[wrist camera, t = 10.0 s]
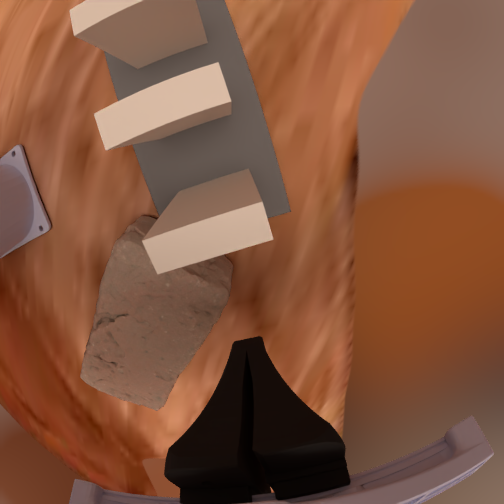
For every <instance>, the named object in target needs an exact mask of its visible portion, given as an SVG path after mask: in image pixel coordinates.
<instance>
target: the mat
mask: <svg viewBox="0 0 504 504" xmlns="http://www.w3.org/2000/svg"><path fill="white" fill-rule="evenodd" d="M196 3H197V6H198V10H199V13H200V17H201V20H202V24H203V27H204V31H205V34H206V38H207V41H208V43H206V44H203V45H199V46H196V47H193V48H190V49H187V50H185V51H182V52H179V53H176V54H173V55H171V56H168V57H166V58H163V59H161V60H158V61H156V62H153V63H151V64H148V65H146V66H144V67H141V68H139V69H137V68H135V67H133V66H131V65H130V64H128V63H126V62H124V61H122V60H121V59H119V58H117V57H115V56H113V55H111V54H109V53H107V52H105V51H104V53H105V56H106V60H107V64H108V68H109V71H110V75H111V78H112V82H113V85H114V89H115V92H116V95H117V99H118V101H120V100H122V99H124V98H126V97H128V96H130V95H133V94H135V93H137V92H139V91H141V90H144V89H146V88H148V87H151V86H153V85H155V84H158V83H160V82H163V81H165V80H168V79H170V78H173V77H176V76H178V75H181V74H184V73H187V72H189V71H192V70H195V69H198V68H201V67H204V66H208V65H211V64H214V63H217V62H219V65H220V68H221V71H222V74H223V77H224V80H225V83H226V86H227V89H228V92H229V96H230V99H231V115H227V116H224V117H221V118H218V119H215V120H212V121H208V122H205V123H203V124H200V125H197V126H194V127H191V128H188V129H185V130H183V131H180V132H177V133H175V134H172V135H170V136H167V137H164V138H162V139H158V140H153V141H148V142H142V143H138V144H133V147H134V150H135V153H136V156H137V159H138V162H139V164H140V167H141V170H142V173H143V175H144V178H145V181H146V183H147V186H148V188H149V191H150V194H151V196H152V199H153V201H154V204H155V206H156V209H157V211H158V214H159V216H160V215H161V214H162V213H163V211H164V210H165V209H166V207H167V206H168V205H169V204H170V202H171V201H172V200H173V198H174V197H175V196H176V195H177V193H178V192H179V191H181V190H184V189H187V188H190V187H193V186H196V185H199V184H202V183H205V182H208V181H211V180H214V179H217V178H220V177H223V176H226V175H229V174H232V173H236V172H239V171H242V170H245V169H249V171H250V173H251V175H252V178H253V180H254V183H255V185H256V187H257V190H258V192H259V195H260V197H261V199H262V202H263V205H264V209H265V212H266V215H267V218H270V217H274V216H277V215H281V214H284V213H287V212H291V210H290V206H289V202H288V198H287V195H286V191H285V187H284V183H283V180H282V176H281V173H280V169H279V165H278V162H277V158H276V155H275V151H274V148H273V144H272V141H271V138H270V134H269V131H268V128H267V124H266V121H265V118H264V114H263V111H262V108H261V105H260V102H259V98H258V95H257V92H256V89H255V86H254V83H253V80H252V77H251V74H250V71H249V68H248V65H247V62H246V59H245V56H244V53H243V50H242V47H241V44H240V42H239V39H238V36H237V33H236V30H235V28H234V25H233V22H232V19H231V17H230V14H229V11H228V9H227V6H226V3H225V1H224V0H196Z"/></svg>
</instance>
